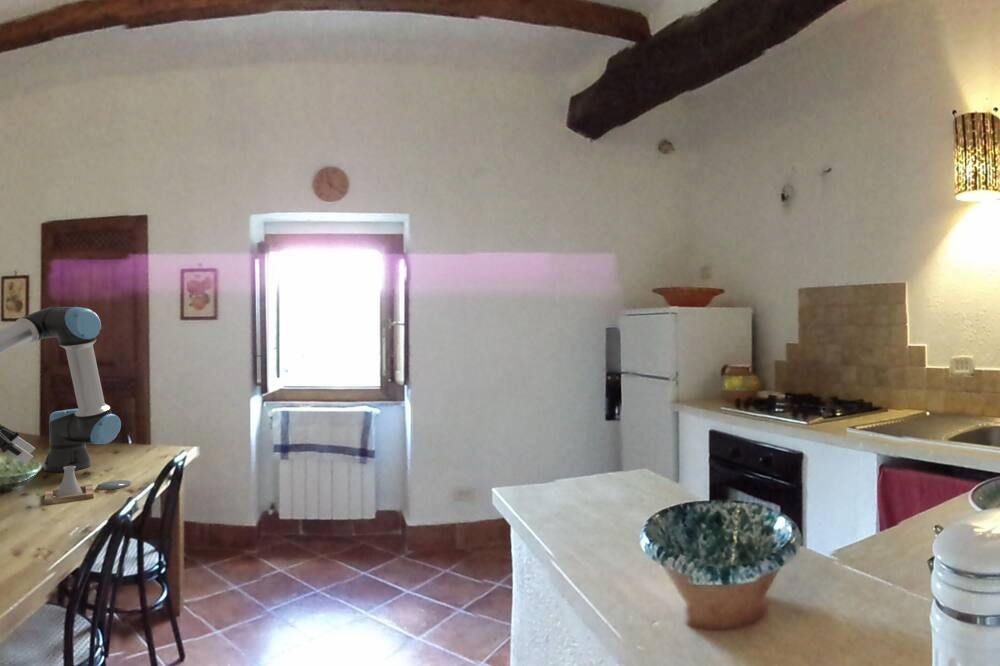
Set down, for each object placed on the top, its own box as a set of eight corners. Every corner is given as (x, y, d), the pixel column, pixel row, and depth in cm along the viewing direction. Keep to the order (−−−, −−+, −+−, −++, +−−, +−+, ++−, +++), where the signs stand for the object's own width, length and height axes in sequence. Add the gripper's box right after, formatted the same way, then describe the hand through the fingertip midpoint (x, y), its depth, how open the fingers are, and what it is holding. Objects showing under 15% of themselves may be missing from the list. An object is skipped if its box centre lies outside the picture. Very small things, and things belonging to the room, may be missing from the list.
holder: (45, 494, 200) (45, 490, 200) (92, 488, 208) (92, 484, 208) (44, 504, 190) (44, 500, 190) (93, 498, 197) (93, 493, 197)
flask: (68, 500, 195) (68, 470, 194) (50, 498, 196) (50, 468, 196) (88, 494, 202) (87, 465, 201) (70, 492, 203) (70, 463, 203)
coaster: (106, 482, 216) (106, 480, 216) (135, 481, 217) (135, 480, 217) (91, 490, 206) (91, 488, 206) (121, 489, 207) (121, 487, 207)
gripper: (-37, 416, 192) (22, 457, 201) (-50, 429, 172) (17, 473, 181) (-16, 399, 195) (42, 440, 204) (-25, 409, 175) (39, 454, 184)
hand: (30, 455), depth 192 cm, fingers open, 13 cm apart
